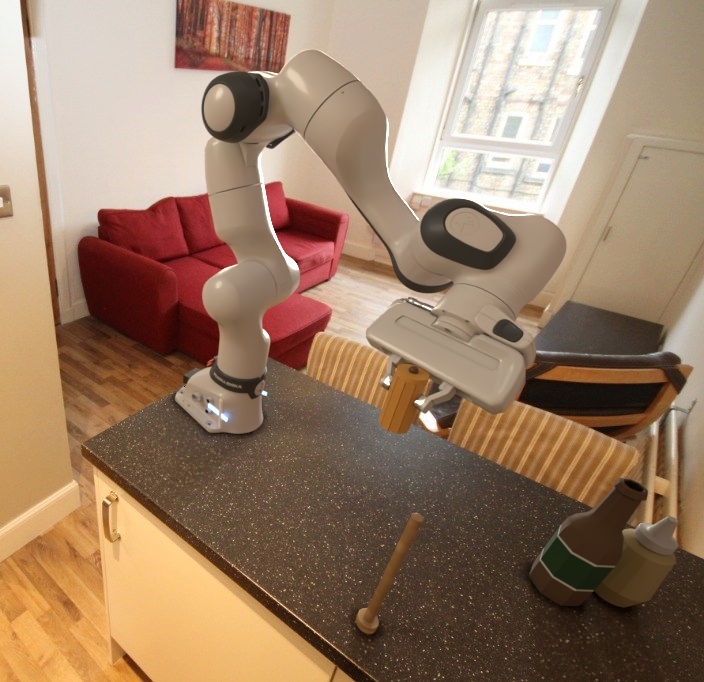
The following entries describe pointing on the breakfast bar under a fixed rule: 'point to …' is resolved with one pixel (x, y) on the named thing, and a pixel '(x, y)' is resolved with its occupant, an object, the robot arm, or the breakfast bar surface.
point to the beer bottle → (586, 546)
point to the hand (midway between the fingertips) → (401, 398)
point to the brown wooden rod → (388, 576)
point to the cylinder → (403, 398)
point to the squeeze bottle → (641, 564)
